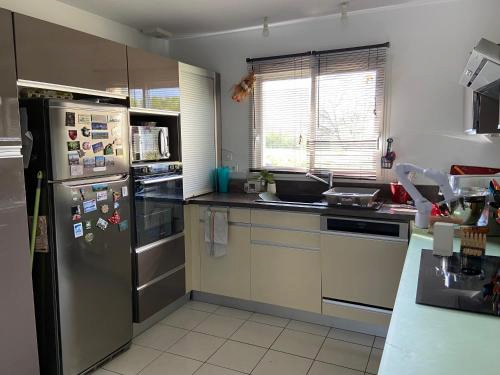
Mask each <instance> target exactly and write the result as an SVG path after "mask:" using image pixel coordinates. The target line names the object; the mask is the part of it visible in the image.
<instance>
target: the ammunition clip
mask: <svg viewBox="0 0 500 375" xmlns="http://www.w3.org/2000/svg"><path fill="white" fill-rule="evenodd" d="M482 235H483V237H482ZM459 246H460V247H459V254H461V255H474V256H476V255H477V256H482V257H485V258H486V251H487V250H486V248H487V235H486V233H484V234H482V232H480V233H479V235H478V233H477V232H475V234H474V232H471V233H469V231H467V232H466V233H465V231H464V230H463V233H462V237H461V238H460V245H459Z"/></svg>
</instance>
